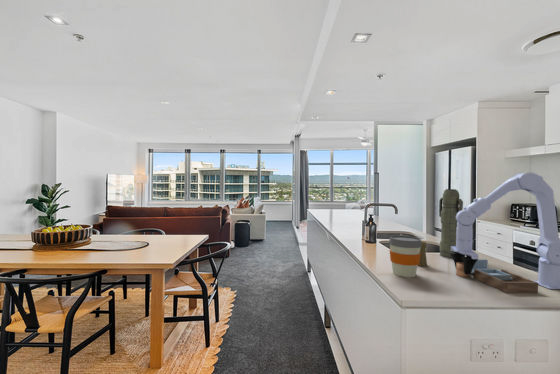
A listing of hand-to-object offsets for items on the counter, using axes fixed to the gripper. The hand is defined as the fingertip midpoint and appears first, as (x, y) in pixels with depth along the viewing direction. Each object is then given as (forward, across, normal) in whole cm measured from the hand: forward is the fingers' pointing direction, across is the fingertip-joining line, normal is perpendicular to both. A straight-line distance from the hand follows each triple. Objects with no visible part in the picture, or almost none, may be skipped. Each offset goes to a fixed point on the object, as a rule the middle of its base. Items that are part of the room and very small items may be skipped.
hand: (463, 272), depth 125 cm
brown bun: (+1, 0, 0) cm, 1 cm away
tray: (0, +2, +8) cm, 9 cm away
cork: (+2, -16, -10) cm, 19 cm away
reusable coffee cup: (+2, -2, -24) cm, 24 cm away
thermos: (+2, -32, +14) cm, 35 cm away
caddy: (+1, +11, +8) cm, 14 cm away
